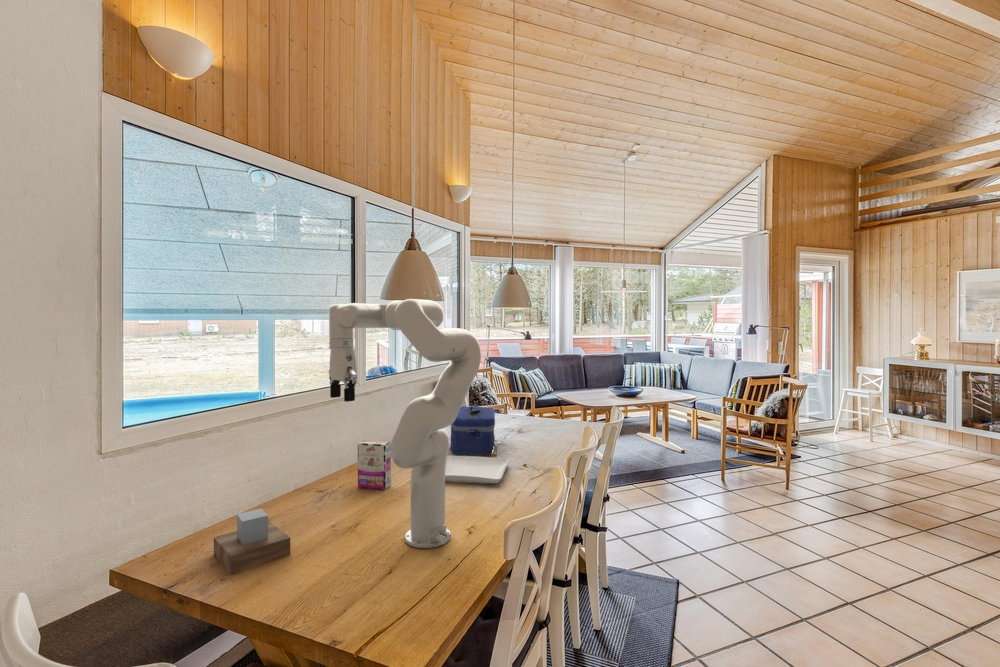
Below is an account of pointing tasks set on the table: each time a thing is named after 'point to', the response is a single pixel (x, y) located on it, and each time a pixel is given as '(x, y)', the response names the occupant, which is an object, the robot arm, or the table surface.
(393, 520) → the table surface
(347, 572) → the table surface
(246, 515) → the slate cube
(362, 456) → the candy bar box
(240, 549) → the walnut block
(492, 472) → the square plate
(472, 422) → the lunch bag
